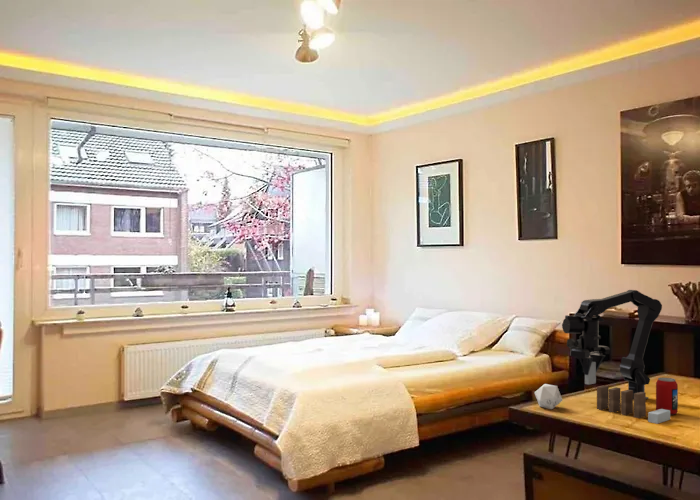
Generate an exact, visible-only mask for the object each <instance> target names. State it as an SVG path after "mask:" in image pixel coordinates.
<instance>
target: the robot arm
mask: <svg viewBox="0 0 700 500" xmlns="http://www.w3.org/2000/svg"><path fill="white" fill-rule="evenodd" d="M628 303H632V305H634V306H636V308H637V311H636V313H637V317H638V322H637V325H636V329H635V333H634V336H633V340H632V343H631V347H630V349H629V350H630V351H629V353H628V354H627V356H626V357H625V356H622V358H621V359H620V360H621V361H620V364H619V367H618V368H619V373H621V375H622V377H623V380H624V381H626V382H628V385H627V386H628V387H627V388H628V389H627V390H633V400H634V393H638V392H645V389H646V388H645V386H646V385H649V384H650V381H651V378H650V377H649V376H648V375H647V374H646V373H645V366H646V365H645V361H644V355H645V351H646V347H647V344H648V341H649V337H650V333H651V329H652V326H653V323H654V322H655V321H656V320H657V319H658V318H659V316H660V314H661V312H662V309H663V304H662V302H661V301H660V300H659V299H656V298H653V297H650V296H648V295H645V294H644V293H642V292H640V291H639V290H636V289H627V290H626V291H624V292H620V293H617V294H614V295H611V296H606V297H603V298H591V299H584V300H582V301H581V302H580V306H579V308H578V310H577V311H576V312H575V313H574V315H569V314H568V315H565V316H564V319H563V320H562V321H563V322H562V324H561V328H562V331H563V333H564V334H581V333H582V334H581V335H579V337H578V338H579V339H575V338H569V339H567V340H566V347H568V348H569V350H570V351H569V356H570V357H572V358H573V357H574V358H576V359H578V360H579V362H580V363H581V366H582V370H583V373H584V376H585V375H588V374H589V371H590V367H591V363H592V362H596V373H597V372H598V370H599V369H600V366H601V364H602V362H603V360H604V359H605V357H606V355H611V349H610V347H609V346H606V345H601V344H600V345H599V340H601V339H602V336H601V335H599V332H600V331H599V328H600V327H599V323H600V322H604V321H605V319H604V318H602V317H601V316H600V315H602V314H604V313H605V312H606V311H607V310H609V309H611V308H614V307H617V306H621V305H625V304H628ZM645 393H646V392H645ZM648 399H649V396H646V400H648Z"/></svg>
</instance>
